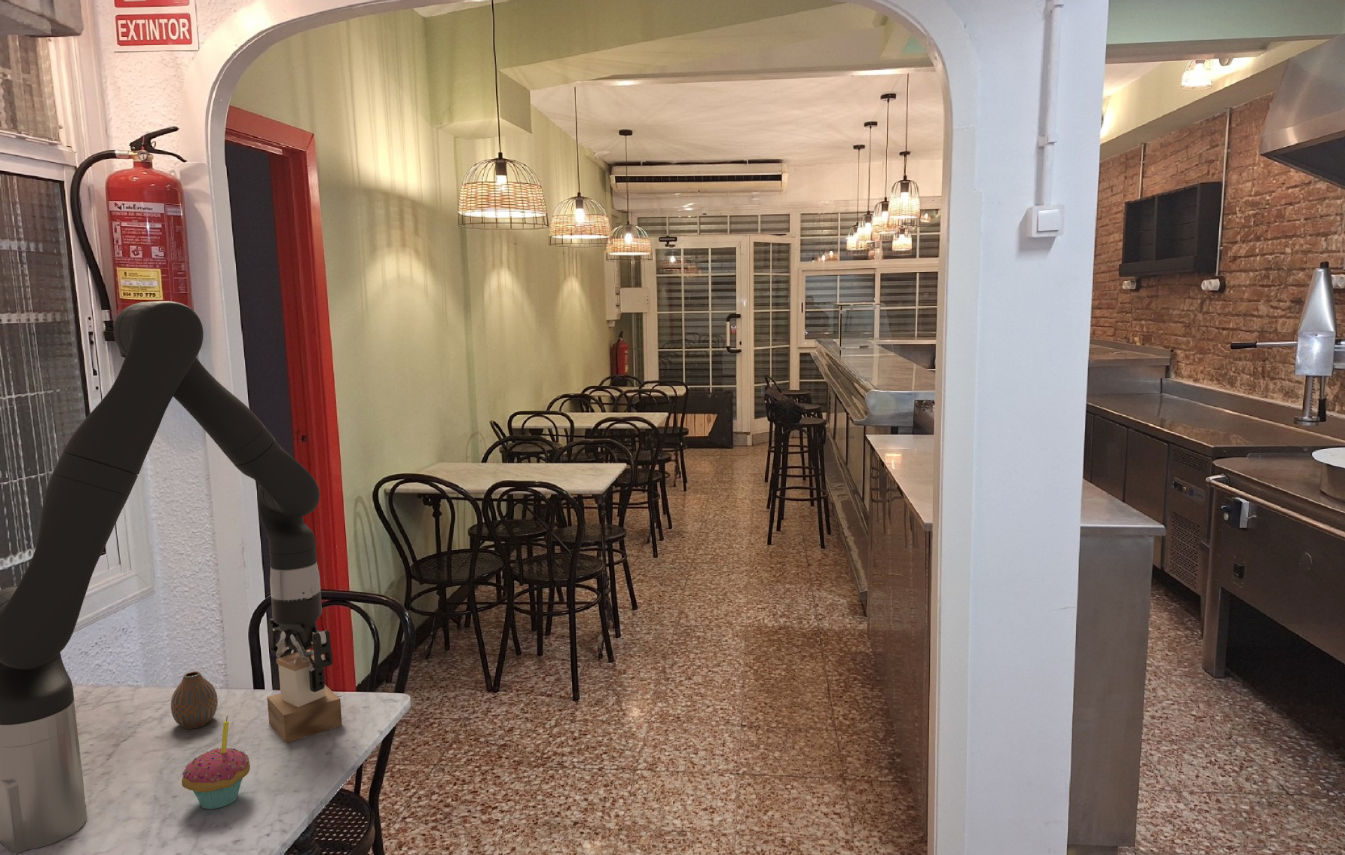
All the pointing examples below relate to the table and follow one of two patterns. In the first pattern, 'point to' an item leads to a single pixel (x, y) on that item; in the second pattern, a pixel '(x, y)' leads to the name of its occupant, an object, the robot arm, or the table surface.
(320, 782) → the table surface
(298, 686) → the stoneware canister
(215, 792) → the cupcake
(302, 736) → the brown wooden block
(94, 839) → the table surface
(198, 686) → the vase
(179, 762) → the table surface
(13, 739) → the robot arm
